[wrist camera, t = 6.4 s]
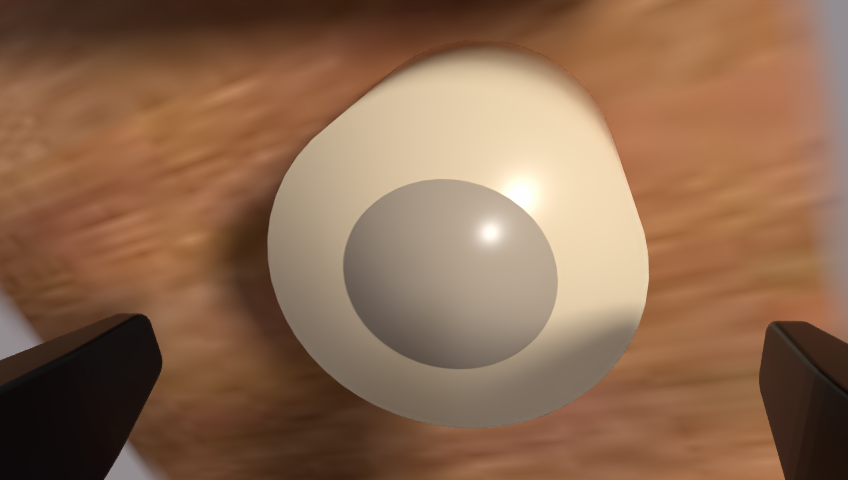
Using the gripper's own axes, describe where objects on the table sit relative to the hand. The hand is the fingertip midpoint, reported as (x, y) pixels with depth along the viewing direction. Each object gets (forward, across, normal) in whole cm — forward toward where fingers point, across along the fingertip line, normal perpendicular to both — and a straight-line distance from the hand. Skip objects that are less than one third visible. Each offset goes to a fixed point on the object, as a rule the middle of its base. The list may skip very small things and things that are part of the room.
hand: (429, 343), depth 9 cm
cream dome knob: (+7, 0, 0) cm, 7 cm away
